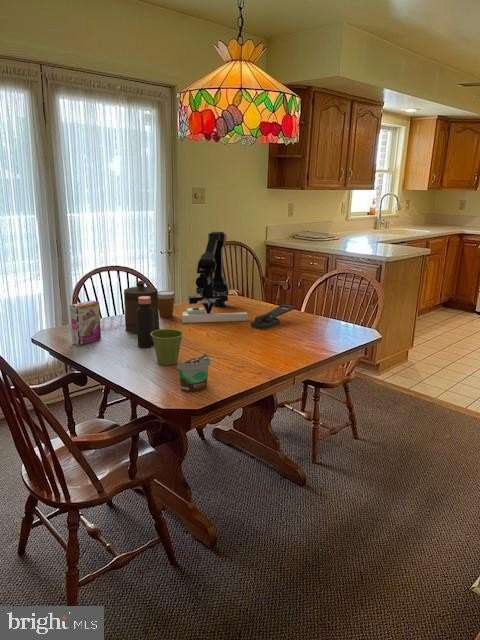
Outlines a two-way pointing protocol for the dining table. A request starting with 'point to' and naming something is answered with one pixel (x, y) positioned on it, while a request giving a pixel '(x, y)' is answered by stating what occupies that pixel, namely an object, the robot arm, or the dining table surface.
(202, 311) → the cabinet block
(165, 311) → the disposable coffee cup
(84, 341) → the candy bar box
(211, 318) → the cleat board
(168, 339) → the plant pot
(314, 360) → the dining table surface
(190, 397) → the dining table surface
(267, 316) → the dark grey elongated piece
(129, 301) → the wooden container
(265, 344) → the dining table surface
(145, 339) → the bottle
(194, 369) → the food container
